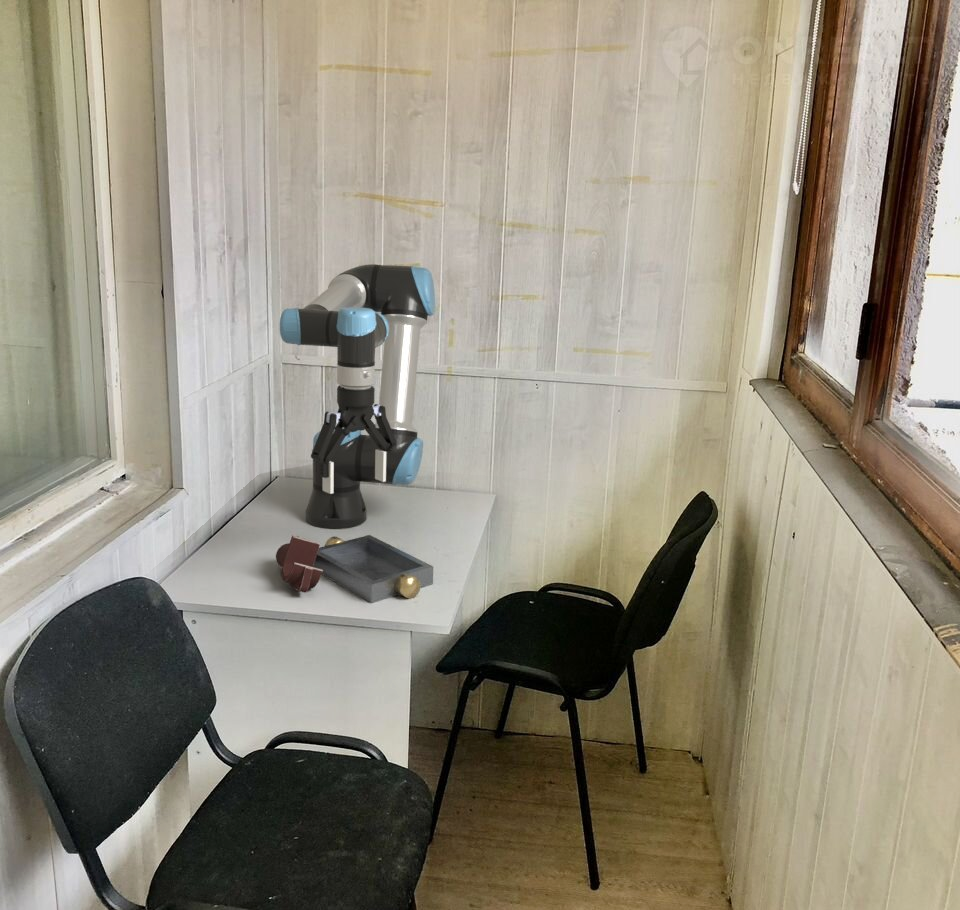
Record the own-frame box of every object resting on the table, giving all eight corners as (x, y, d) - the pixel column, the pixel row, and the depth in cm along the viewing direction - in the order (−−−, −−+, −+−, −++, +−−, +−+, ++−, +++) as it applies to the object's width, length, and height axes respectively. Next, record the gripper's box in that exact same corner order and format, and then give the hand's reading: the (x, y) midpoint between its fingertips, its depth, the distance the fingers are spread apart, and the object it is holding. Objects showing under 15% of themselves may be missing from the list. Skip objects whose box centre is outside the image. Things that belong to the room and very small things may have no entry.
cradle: (302, 562, 203) (302, 544, 202) (361, 547, 214) (362, 529, 213) (380, 608, 183) (380, 587, 182) (441, 588, 193) (442, 569, 192)
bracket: (288, 589, 183) (304, 541, 184) (267, 574, 198) (282, 530, 199) (317, 596, 186) (332, 548, 187) (294, 581, 201) (308, 537, 202)
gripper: (315, 395, 174) (315, 502, 180) (414, 382, 191) (412, 479, 197) (292, 389, 179) (293, 492, 185) (391, 376, 197) (389, 471, 202)
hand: (354, 486), depth 191 cm, fingers open, 13 cm apart
